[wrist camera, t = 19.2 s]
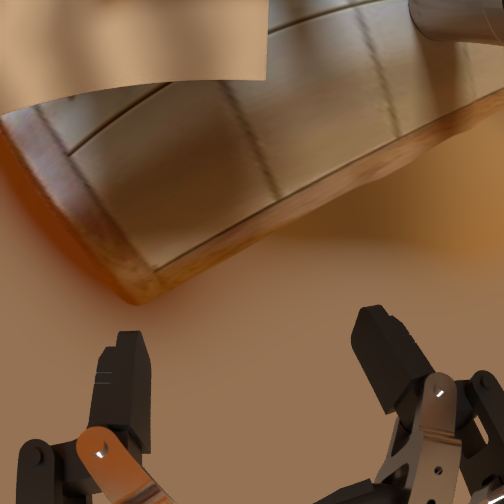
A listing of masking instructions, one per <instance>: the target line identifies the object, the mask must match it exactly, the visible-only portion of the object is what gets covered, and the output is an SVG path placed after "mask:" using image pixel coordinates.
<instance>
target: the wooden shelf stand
mask: <svg viewBox="0 0 504 504" xmlns="http://www.w3.org/2000/svg"><path fill="white" fill-rule="evenodd" d="M268 11H269V0H0V115H3V114H6V113H9V112H12V111H16V110H19V109H22V108H26V107H29V106H32V105H36V104H40V103H44V102H47V101H51V100H55V99H60V98H64V97H68V96H73V95H78V94H83V93H88V92H93V91H99V90H105V89H111V88H118V87H125V86H133V85H142V84H151V83H162V82H175V81H194V80H258V81H266V59H267V35H268Z"/></svg>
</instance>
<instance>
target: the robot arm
mask: <svg viewBox="0 0 504 504" xmlns="http://www.w3.org/2000/svg"><path fill="white" fill-rule="evenodd" d="M409 9H410V13H411V16H412V18H413V21H414V22H415V24H416V26H417V27H418V29H419V30H420V31H421V32H422V33H423V34H424V35H425V36H427V37H428V38H430V39H432V40H436V41H455V42H469V43H481V44H490V45H498V46H504V0H409ZM351 345H352V348H353V351H354V353H355V355H356V357H357V358H358V360H359V362H360V364H361V366H362V368H363V370H364V372H365V374H366V376H367V378H368V380H369V382H370V384H371V386H372V388H373V389H374V392H375V393H376V396H377V398H378V400H379V402H380V404H381V406H382V408H383V410H384V412H385V414H386V415H387V414H390V413H392V412H395V411H396V412H397V414H398V417H397V418H396V421H395V425H394V429H393V433H392V437H391V441H390V445H389V449H388V453H387V456H386V459H385V461H384V463H383V465H382V466H381V468H380V470H379V471H378V474H377V476H376V478H375V481H374V483H371V480H370V479H367V480H364V481H361V482H358V483H356V484H353V485H350V486H347V487H344V488H340V489H339V490H337V491H335V492H334V493H332V494H330V495H328V496H327V497H325V498H323V499H321V500H319V501H317V502H315V503H313V504H452V503H453V498H454V494H455V488H456V483H457V477H458V471H459V468H460V470H461V472H462V474H463V477H464V480H465V482H466V485H467V487H468V490H469V493H470V495H471V500H470V503H468V504H504V391H503V389H502V388H501V386H500V384H499V383H498V381H497V380H496V378H495V377H494V376H493V375H492V374H491V373H490V372H488V371H484V370H480V371H477V372H476V373H475V374H474V375H473V377H472V378H471V379H470V380H457V381H453V379H452V378H451V377H450V376H448V375H446V374H444V373H440V372H435V371H434V369H433V368H432V366H431V365H430V363H429V361H428V360H427V358H426V357H425V355H424V354H423V353H422V351H421V349H420V348H419V346H418V345H417V343H415V341H414V339H413V338H412V336H411V335H409V332H408V330H407V329H406V327H405V326H404V325H403V323H402V322H400V321H399V320H398V319H396V318H395V317H394V316H389V315H388V313H387V312H386V311H385V309H384V308H383V307H382V306H381V305H374V306H368V307H363V308H361V309H360V311H359V314H358V317H357V320H356V323H355V326H354V328H353V331H352V335H351ZM150 406H151V363H150V358H149V355H148V352H147V349H146V346H145V343H144V340H143V336H142V334H141V332H140V331H120V332H119V333H118V336H117V342H116V347H106V348H105V350H104V351H103V353H102V354H101V356H100V357H99V360H98V365H97V374H96V376H95V384H94V388H93V395H92V401H91V408H90V417H89V423H88V426H87V428H86V430H85V431H83V432H82V433H81V434H80V436H79V437H78V438H77V439H75V440H73V441H70V442H66V443H61V444H56V445H51V446H50V445H48V444H47V443H46V442H45V441H42V440H40V439H32V440H29V441H27V442H26V443H25V444H24V445H23V446H22V448H21V449H20V452H19V459H18V469H17V484H16V504H92V494H96V493H101V492H103V493H104V494H105V496H106V497H107V498H108V499H109V501H110V502H111V503H112V504H177V503H176V502H175V501H174V500H173V499H172V498H171V497H170V496H169V495H168V494H167V493H166V492H165V491H164V490H163V489H162V488H161V487H160V485H158V483H157V482H156V481H155V480H154V479H153V478H152V477H151V476H150V474H149V473H148V472H147V471H146V470H145V469H144V468H143V467H142V454H150V453H151V440H150V408H151V407H150ZM477 415H478V417H479V419H480V421H481V423H482V425H483V427H484V429H485V430H486V433H487V434H488V438H489V441H488V444H486V443H485V441H484V439H483V438H482V435H481V433H480V431H479V429H478V427H477V425H476V423H475V421H474V418H475V417H476V416H477Z"/></svg>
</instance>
